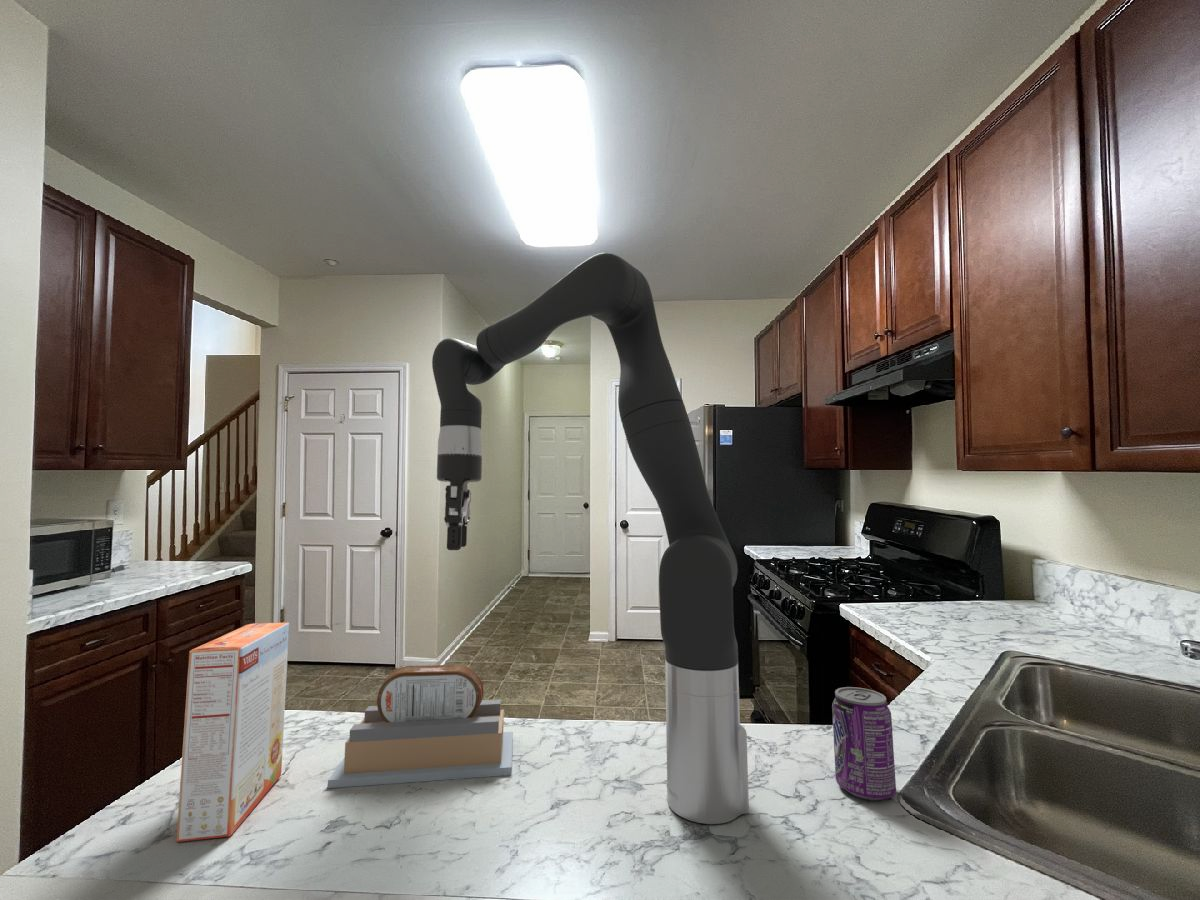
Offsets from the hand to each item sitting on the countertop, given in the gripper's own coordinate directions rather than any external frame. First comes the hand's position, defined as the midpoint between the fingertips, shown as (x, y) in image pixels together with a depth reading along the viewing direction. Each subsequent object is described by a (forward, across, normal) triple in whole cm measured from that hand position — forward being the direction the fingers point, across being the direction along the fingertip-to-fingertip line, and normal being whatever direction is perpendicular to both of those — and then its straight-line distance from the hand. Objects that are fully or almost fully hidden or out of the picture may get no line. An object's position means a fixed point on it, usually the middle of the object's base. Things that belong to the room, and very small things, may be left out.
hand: (457, 548), depth 90 cm
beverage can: (+30, -26, -56) cm, 69 cm away
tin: (+25, -10, +2) cm, 27 cm away
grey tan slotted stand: (+30, -9, +2) cm, 31 cm away
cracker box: (+30, -18, +24) cm, 43 cm away
